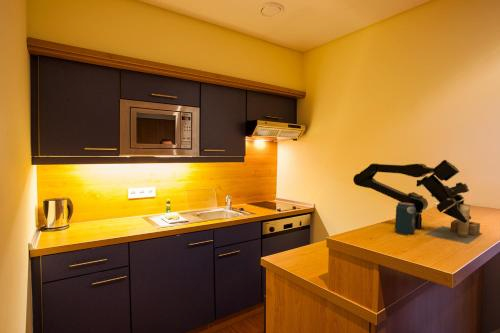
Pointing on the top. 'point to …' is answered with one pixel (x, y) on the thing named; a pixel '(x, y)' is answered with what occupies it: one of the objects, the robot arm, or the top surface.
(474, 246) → the top surface
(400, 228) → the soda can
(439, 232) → the mat
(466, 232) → the peg
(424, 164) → the robot arm
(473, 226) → the hole block
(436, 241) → the top surface
